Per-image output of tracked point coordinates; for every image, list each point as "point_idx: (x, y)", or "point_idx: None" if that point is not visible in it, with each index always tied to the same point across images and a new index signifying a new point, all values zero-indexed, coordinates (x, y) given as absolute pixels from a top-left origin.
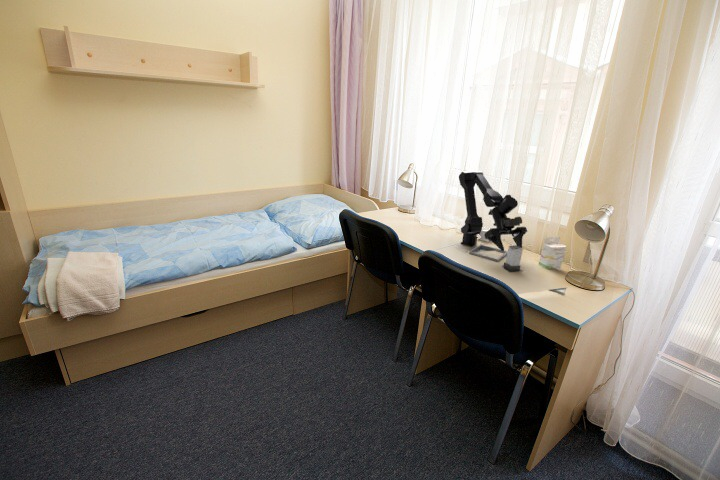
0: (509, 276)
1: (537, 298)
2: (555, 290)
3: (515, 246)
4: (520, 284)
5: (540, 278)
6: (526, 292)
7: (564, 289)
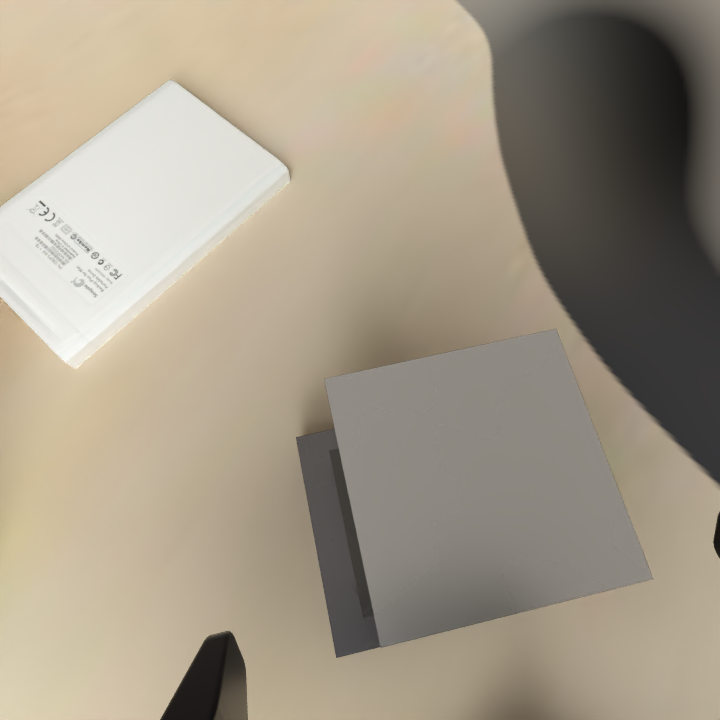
0: None
1: (413, 46)
2: (209, 108)
3: (461, 538)
4: (443, 230)
5: (163, 350)
6: (455, 114)
7: (119, 120)
